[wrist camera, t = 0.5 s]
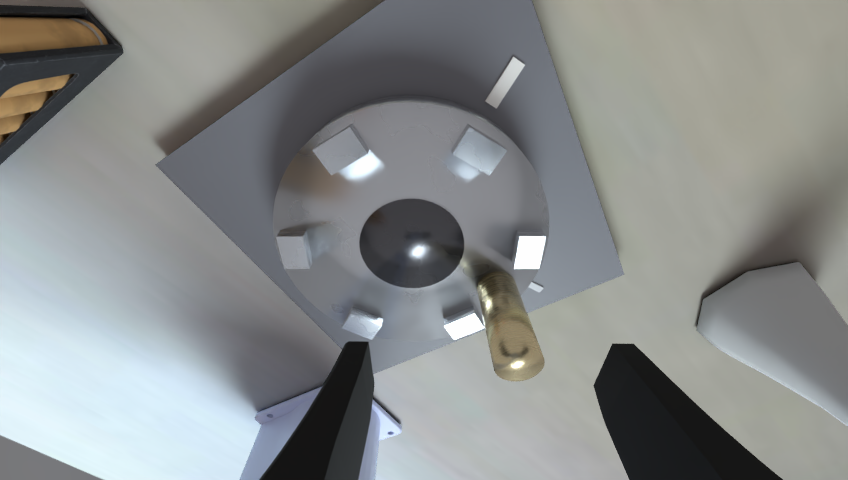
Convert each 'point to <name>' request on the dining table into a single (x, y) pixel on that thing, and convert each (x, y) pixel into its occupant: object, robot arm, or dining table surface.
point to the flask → (783, 332)
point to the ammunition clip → (46, 65)
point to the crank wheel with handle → (417, 227)
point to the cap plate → (396, 76)
